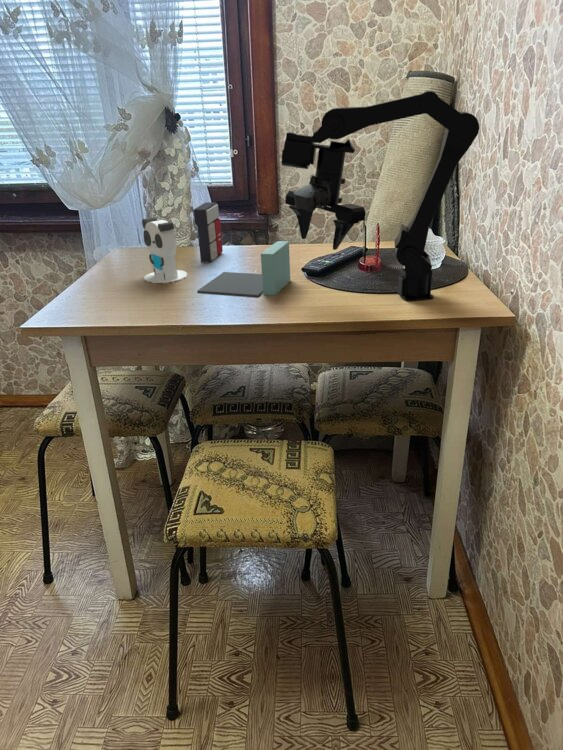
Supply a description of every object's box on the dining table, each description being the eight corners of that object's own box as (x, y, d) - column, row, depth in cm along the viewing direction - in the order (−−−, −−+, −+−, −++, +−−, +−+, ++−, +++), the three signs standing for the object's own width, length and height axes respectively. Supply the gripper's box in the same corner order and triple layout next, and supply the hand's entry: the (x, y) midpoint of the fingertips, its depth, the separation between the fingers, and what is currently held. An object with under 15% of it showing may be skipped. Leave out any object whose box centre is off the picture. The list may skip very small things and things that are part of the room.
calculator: (213, 262, 163) (207, 209, 156) (198, 262, 164) (193, 209, 157) (224, 252, 173) (219, 202, 166) (210, 252, 174) (205, 202, 167)
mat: (280, 277, 148) (279, 275, 148) (258, 297, 135) (258, 294, 134) (223, 273, 153) (223, 271, 153) (197, 292, 139) (197, 290, 139)
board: (290, 280, 145) (288, 241, 141) (274, 295, 135) (272, 254, 131) (279, 279, 146) (277, 241, 142) (263, 294, 136) (260, 253, 132)
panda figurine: (136, 276, 154) (127, 220, 147) (174, 267, 160) (167, 213, 153) (156, 286, 145) (147, 227, 139) (194, 277, 151) (188, 220, 145)
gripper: (272, 165, 121) (264, 237, 129) (340, 183, 111) (328, 260, 118) (305, 163, 129) (297, 232, 136) (373, 180, 118) (359, 253, 126)
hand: (318, 244), depth 129 cm, fingers open, 9 cm apart
